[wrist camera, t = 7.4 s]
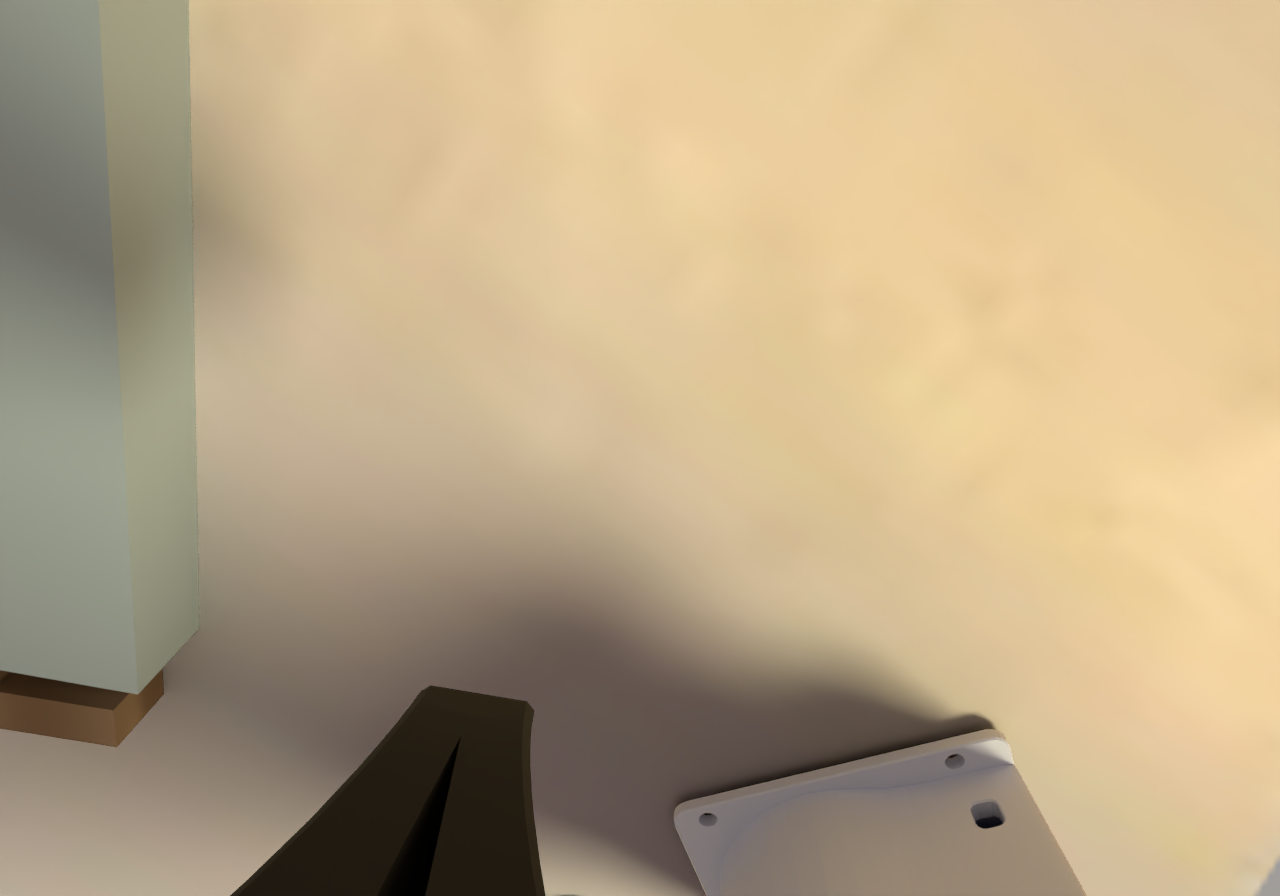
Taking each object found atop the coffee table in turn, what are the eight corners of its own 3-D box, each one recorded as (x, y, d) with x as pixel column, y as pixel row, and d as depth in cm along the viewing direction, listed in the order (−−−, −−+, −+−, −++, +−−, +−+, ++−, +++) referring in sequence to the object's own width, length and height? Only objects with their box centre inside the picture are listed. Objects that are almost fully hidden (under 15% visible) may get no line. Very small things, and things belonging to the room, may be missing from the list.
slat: (198, -55, 15) (92, -97, 12) (207, 619, 21) (137, 694, 18) (-14, -104, 15) (-170, -157, 12) (57, 592, 21) (-36, 663, 18)
